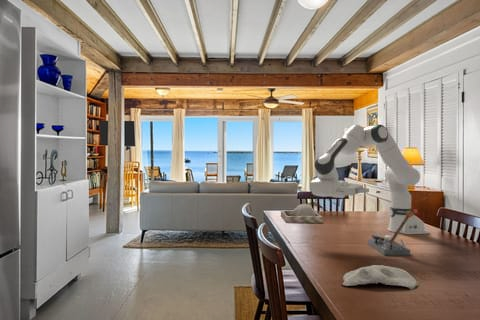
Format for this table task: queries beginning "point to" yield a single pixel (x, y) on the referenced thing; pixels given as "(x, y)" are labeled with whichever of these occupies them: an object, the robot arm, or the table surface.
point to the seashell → (304, 210)
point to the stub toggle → (403, 244)
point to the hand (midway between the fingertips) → (368, 190)
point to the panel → (388, 247)
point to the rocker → (377, 237)
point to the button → (388, 238)
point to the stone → (379, 276)
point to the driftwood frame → (300, 218)
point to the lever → (408, 215)
